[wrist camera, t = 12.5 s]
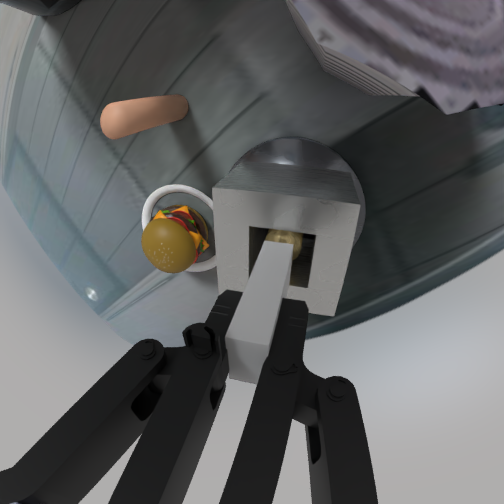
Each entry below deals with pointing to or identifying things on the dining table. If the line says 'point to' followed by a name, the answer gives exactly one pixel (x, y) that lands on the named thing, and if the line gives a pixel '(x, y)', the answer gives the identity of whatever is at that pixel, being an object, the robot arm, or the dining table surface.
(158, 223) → the hamburger
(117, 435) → the robot arm
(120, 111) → the sausage
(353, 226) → the collar
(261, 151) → the hub
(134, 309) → the dining table surface
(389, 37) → the can
